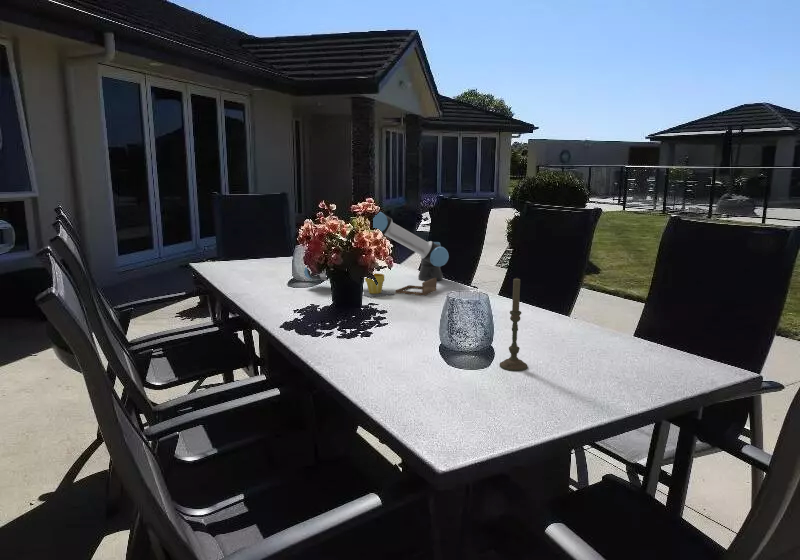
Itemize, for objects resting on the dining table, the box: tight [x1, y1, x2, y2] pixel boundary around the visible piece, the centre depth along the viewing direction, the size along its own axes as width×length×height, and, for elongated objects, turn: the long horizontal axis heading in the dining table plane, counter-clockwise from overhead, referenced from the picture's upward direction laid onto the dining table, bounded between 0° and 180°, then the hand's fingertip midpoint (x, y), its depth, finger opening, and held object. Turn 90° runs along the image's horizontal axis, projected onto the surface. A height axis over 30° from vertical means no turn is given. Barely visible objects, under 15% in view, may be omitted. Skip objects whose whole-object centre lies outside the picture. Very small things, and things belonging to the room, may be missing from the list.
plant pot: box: [364, 273, 385, 294], centre depth 299 cm, size 10×10×10 cm
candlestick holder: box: [499, 278, 529, 372], centre depth 180 cm, size 9×9×30 cm
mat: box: [363, 289, 395, 299], centre depth 300 cm, size 15×15×1 cm
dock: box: [395, 278, 437, 296], centre depth 305 cm, size 17×17×7 cm
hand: (362, 276), depth 301 cm, fingers open, 13 cm apart
